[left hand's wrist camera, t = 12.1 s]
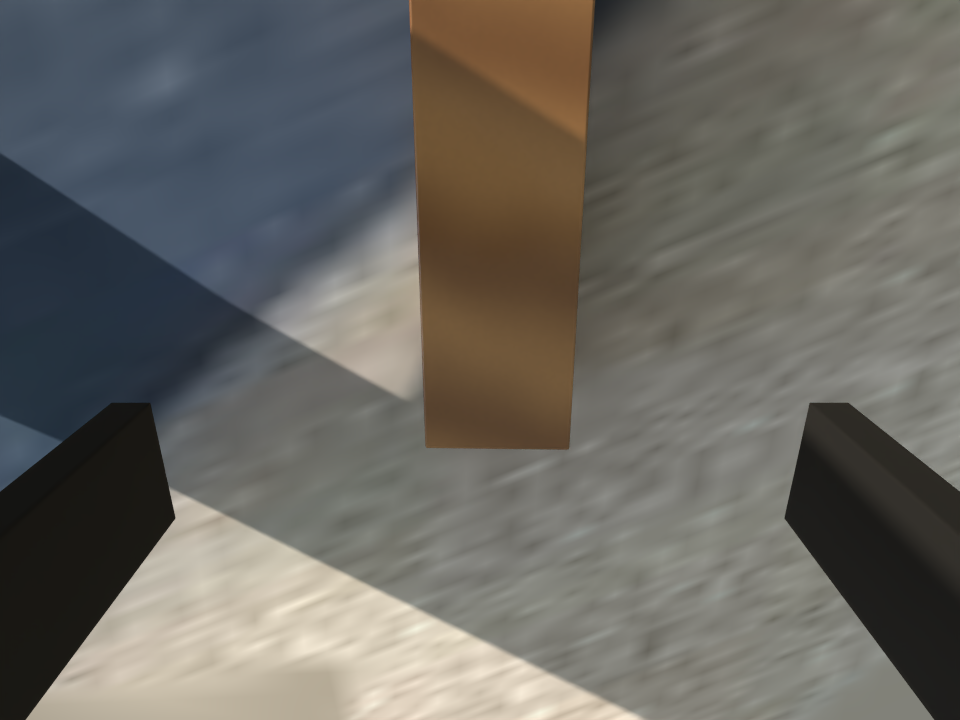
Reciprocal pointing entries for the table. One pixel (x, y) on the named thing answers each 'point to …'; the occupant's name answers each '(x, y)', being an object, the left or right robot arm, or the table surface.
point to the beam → (499, 214)
